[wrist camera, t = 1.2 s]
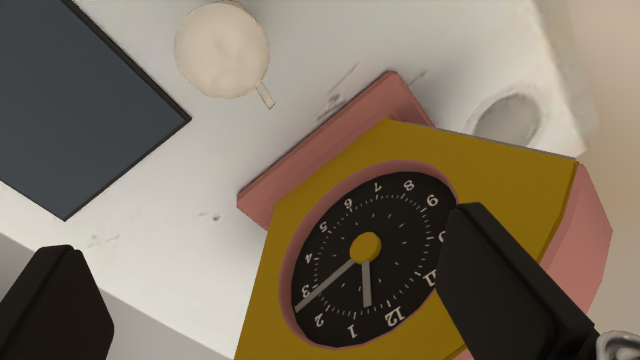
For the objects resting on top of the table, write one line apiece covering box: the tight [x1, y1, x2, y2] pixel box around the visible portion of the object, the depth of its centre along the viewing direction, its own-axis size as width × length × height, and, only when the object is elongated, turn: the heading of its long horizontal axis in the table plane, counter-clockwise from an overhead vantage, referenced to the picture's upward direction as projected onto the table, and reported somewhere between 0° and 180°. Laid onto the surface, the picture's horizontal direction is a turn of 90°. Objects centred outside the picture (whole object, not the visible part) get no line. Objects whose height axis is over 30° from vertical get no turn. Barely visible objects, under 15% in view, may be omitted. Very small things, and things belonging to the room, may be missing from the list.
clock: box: [234, 71, 613, 360], centre depth 24 cm, size 22×9×22 cm, turn 129°
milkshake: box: [175, 0, 275, 109], centre depth 21 cm, size 5×5×10 cm
